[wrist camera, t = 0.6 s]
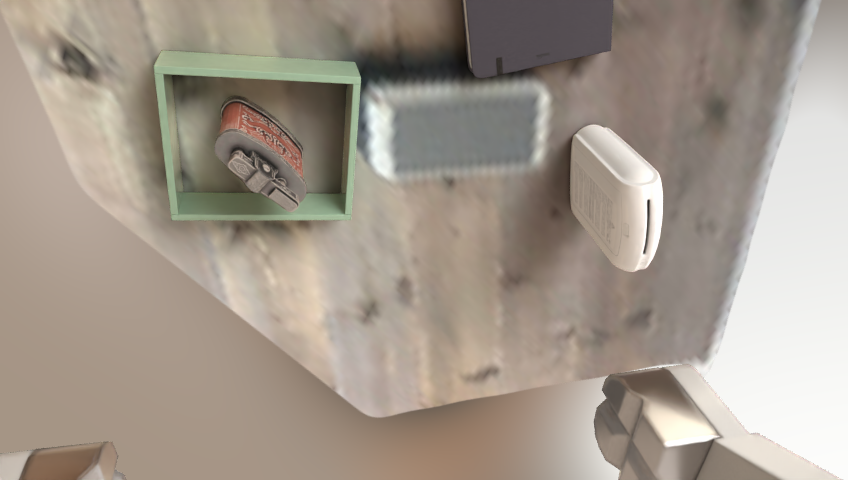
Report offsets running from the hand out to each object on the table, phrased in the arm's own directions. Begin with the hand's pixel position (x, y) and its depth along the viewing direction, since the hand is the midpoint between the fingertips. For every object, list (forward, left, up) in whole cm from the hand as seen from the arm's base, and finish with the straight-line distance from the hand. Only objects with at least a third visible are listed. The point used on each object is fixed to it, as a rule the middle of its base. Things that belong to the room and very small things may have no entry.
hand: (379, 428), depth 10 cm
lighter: (+14, -2, -44) cm, 46 cm away
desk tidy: (+14, -2, -44) cm, 46 cm away
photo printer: (+17, +30, -44) cm, 56 cm away
